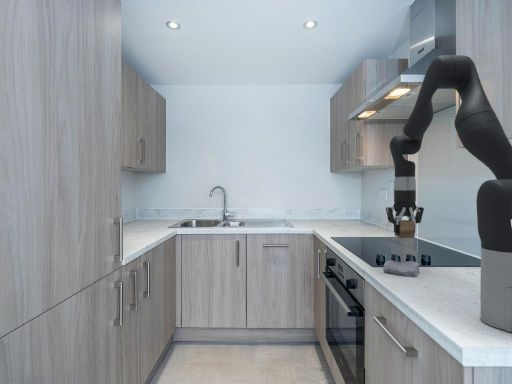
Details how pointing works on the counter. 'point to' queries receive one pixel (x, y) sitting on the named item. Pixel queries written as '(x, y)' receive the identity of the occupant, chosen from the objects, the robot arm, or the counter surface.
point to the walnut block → (406, 229)
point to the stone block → (402, 268)
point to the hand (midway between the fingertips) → (404, 234)
